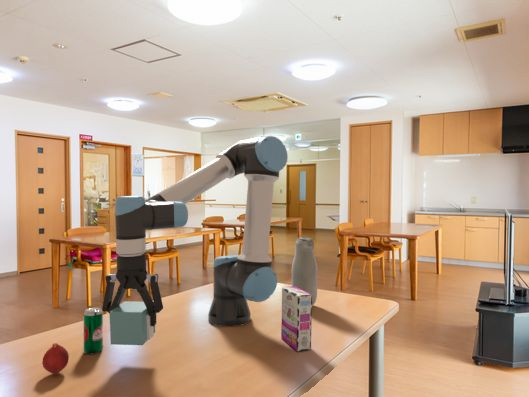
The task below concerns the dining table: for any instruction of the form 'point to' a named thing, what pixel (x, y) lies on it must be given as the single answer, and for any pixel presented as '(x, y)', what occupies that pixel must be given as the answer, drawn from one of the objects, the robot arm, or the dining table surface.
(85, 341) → the soda can
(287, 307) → the candy bar box
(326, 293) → the dining table surface
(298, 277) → the grey bottle
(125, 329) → the seafoam cube
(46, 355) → the pomegranate
